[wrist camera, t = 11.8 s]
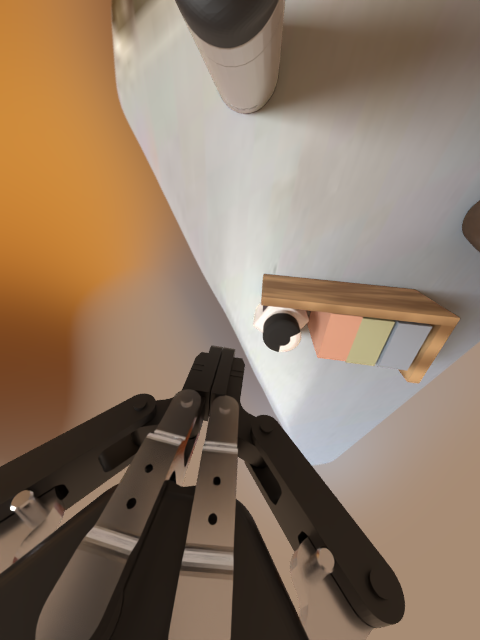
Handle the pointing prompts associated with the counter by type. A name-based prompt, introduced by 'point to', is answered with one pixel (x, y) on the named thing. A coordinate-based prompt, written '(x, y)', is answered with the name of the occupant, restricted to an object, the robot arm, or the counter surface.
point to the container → (280, 326)
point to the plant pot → (472, 226)
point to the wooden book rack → (366, 309)
